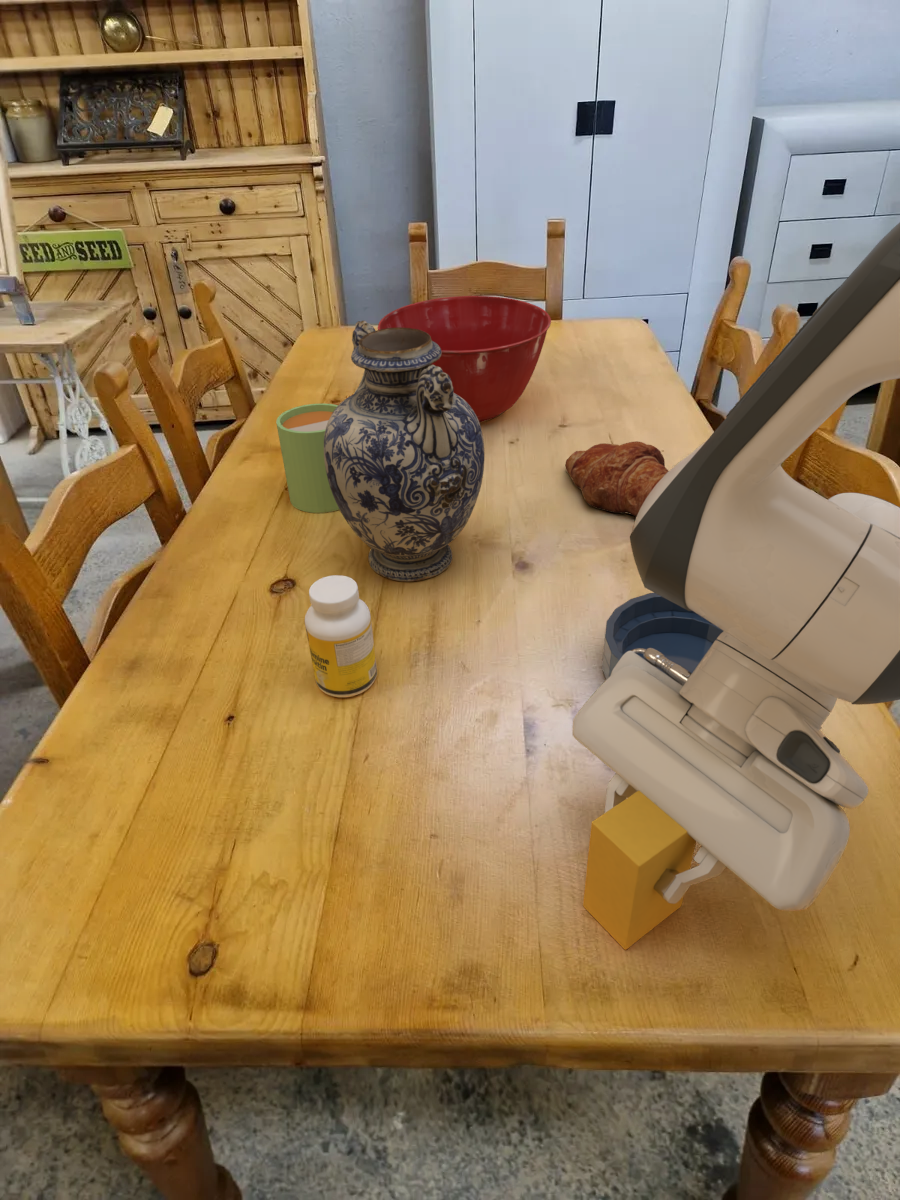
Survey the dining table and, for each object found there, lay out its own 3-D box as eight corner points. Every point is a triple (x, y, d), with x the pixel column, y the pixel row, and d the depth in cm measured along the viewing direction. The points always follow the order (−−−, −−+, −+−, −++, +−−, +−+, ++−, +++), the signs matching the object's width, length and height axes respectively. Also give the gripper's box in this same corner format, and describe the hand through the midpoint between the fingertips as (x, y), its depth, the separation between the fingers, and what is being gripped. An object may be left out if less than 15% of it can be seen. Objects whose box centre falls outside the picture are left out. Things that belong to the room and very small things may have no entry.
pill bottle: (317, 661, 85) (301, 572, 78) (377, 656, 85) (366, 566, 78) (314, 703, 80) (296, 611, 73) (378, 697, 80) (367, 605, 73)
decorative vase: (520, 575, 97) (524, 347, 80) (385, 626, 89) (359, 387, 73) (434, 504, 112) (422, 300, 95) (312, 543, 104) (277, 329, 88)
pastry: (552, 517, 108) (554, 463, 103) (566, 466, 120) (569, 416, 115) (680, 528, 104) (688, 473, 99) (681, 475, 116) (688, 424, 111)
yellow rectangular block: (681, 906, 60) (701, 821, 54) (625, 951, 57) (639, 866, 51) (638, 865, 63) (652, 780, 57) (582, 906, 60) (591, 821, 54)
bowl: (786, 721, 75) (798, 682, 72) (624, 737, 74) (630, 698, 71) (725, 622, 88) (732, 585, 85) (586, 634, 87) (589, 597, 84)
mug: (372, 501, 113) (363, 422, 106) (302, 519, 110) (288, 439, 103) (342, 466, 122) (332, 392, 115) (276, 482, 119) (262, 406, 112)
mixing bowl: (511, 454, 124) (512, 356, 115) (355, 428, 134) (344, 336, 125) (569, 390, 144) (573, 303, 135) (429, 372, 154) (425, 290, 145)
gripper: (619, 624, 60) (517, 772, 61) (871, 793, 46) (733, 979, 47) (653, 647, 65) (558, 784, 66) (892, 807, 51) (766, 975, 52)
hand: (633, 867), depth 57 cm, fingers closed on yellow rectangular block, 4 cm apart
